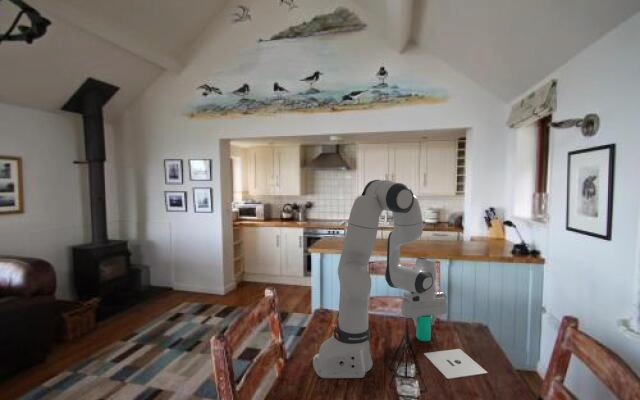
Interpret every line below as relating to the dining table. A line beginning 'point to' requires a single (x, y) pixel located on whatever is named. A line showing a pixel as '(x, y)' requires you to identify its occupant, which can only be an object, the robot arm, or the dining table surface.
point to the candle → (423, 328)
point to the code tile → (454, 363)
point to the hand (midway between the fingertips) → (424, 324)
